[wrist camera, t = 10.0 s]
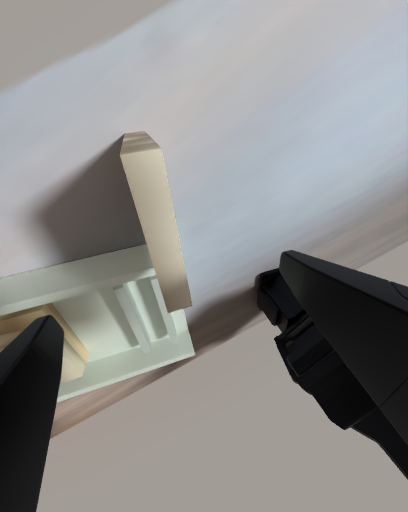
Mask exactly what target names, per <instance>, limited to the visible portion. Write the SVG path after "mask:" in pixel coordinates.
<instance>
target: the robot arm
mask: <svg viewBox="0 0 408 512" xmlns="http://www.w3.org/2000/svg"><path fill="white" fill-rule="evenodd" d="M257 303H258V308H259V309H260V310H263V312H264V313H265V315H266V316H267V318H268V319H269V320H270V322H271V323H272V325H274V326H276V325H277V326H278V327H279V329H280V330H281V332H282V333H281V334H280V335H279V336H276V337H275V338H274V340H275V342H276V344H277V348H278V350H279V352H280V354H281V356H282V359H283V361H284V363H285V365H286V367H287V369H288V372H289V374H290V376H291V377H292V380H293V381H294V382H295V383H297V384H299V385H300V386H301V388H302V389H303V390H305V391H306V392H307V393H309V394H311V395H313V397H314V398H315V399H316V401H317V402H318V404H319V405H320V406H321V408H322V409H323V411H324V412H325V414H326V415H327V416H328V418H329V419H330V420H331V421H332V422H333V423H335V424H336V425H337V426H339V427H340V428H342V429H344V430H346V429H348V428H350V427H351V428H352V429H354V430H356V431H357V432H359V433H361V434H363V435H365V436H366V437H368V438H370V439H371V440H373V441H375V442H376V443H378V444H379V445H380V447H381V448H382V449H383V450H384V451H385V452H386V454H387V455H388V456H389V457H390V458H391V460H392V461H393V462H394V463H395V465H396V466H397V467H398V468H399V470H400V471H401V472H402V473H403V474H404V476H405V477H406V478H407V479H408V287H407V286H404V285H401V284H397V283H395V282H389V281H388V280H385V279H382V278H379V277H376V276H372V275H369V274H366V273H363V272H359V271H357V270H353V269H350V268H347V267H344V266H341V265H338V264H334V263H331V262H328V261H325V260H322V259H319V258H316V257H312V256H309V255H306V254H303V253H300V252H297V251H293V250H289V251H285V252H282V254H281V258H280V265H279V269H276V270H272V271H269V272H265V273H262V274H261V275H260V280H259V289H258V299H257ZM63 348H64V330H63V328H62V327H61V325H60V324H59V323H58V322H57V320H56V319H55V318H54V317H53V316H52V315H45V316H42V317H38V318H36V319H35V320H34V321H33V322H32V323H31V324H30V325H29V326H28V327H27V328H25V329H24V330H23V331H22V332H21V333H20V334H19V335H18V336H17V337H16V338H15V339H14V340H13V341H12V342H11V343H10V344H9V345H7V346H6V347H5V348H4V349H3V350H2V351H1V352H0V512H36V509H37V504H38V499H39V493H40V488H41V483H42V477H43V472H44V466H45V462H46V456H47V451H48V446H49V440H50V435H51V430H52V424H53V419H54V414H55V408H56V403H57V398H58V392H59V387H60V381H61V374H62V362H63Z"/></svg>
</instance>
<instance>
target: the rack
mask: <svg viewBox="0 0 408 512" xmlns="http://www.w3.org/2000/svg"><path fill="white" fill-rule="evenodd" d="M47 303H52V304H53V305H54V307H55V308H56V309H57V311H58V312H59V313H60V315H61V316H62V317H63V319H64V320H65V321H66V323H67V324H68V325H69V326H70V328H71V329H72V330H73V332H74V333H75V334H76V336H77V337H78V338H79V340H80V341H81V342H82V344H83V345H84V346H85V348H86V349H87V350H88V352H89V357H88V363H87V365H85V367H84V373H83V376H82V377H79V378H76V379H73V380H70V381H67V382H64V383H61V384H60V387H59V392H58V398H57V402H59V401H62V400H65V399H68V398H71V397H74V396H77V395H80V394H83V393H86V392H89V391H92V390H95V389H97V388H100V387H103V386H106V385H109V384H112V383H115V382H118V381H121V380H124V379H127V378H130V377H133V376H136V375H139V374H141V373H144V372H147V371H150V370H153V369H156V368H159V367H162V366H165V365H168V364H171V363H174V362H177V361H180V360H183V359H185V358H188V357H191V356H194V355H195V352H194V348H193V345H192V341H191V338H190V334H189V330H188V326H187V322H186V318H185V313H184V309H180V310H177V311H174V312H170V313H168V312H167V309H166V305H165V302H164V299H163V296H162V292H161V289H160V286H159V282H158V279H157V276H156V273H155V269H154V266H153V263H152V259H151V256H150V253H149V250H148V246H147V244H144V245H140V246H135V247H131V248H127V249H122V250H118V251H114V252H110V253H105V254H101V255H97V256H92V257H88V258H84V259H80V260H75V261H71V262H67V263H63V264H58V265H54V266H50V267H45V268H41V269H37V270H33V271H28V272H24V273H20V274H16V275H11V276H7V277H3V278H0V316H1V315H5V314H9V313H13V312H17V311H20V310H24V309H28V308H32V307H36V306H40V305H43V304H47Z"/></svg>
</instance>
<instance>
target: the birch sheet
mask: <svg viewBox="0 0 408 512" xmlns="http://www.w3.org/2000/svg"><path fill="white" fill-rule="evenodd" d="M120 157H121V161H122V164H123V167H124V171H125V174H126V177H127V180H128V184H129V187H130V190H131V194H132V197H133V200H134V203H135V207H136V210H137V213H138V217H139V220H140V223H141V226H142V230H143V233H144V236H145V240H146V243H147V246H148V250H149V253H150V256H151V259H152V263H153V266H154V269H155V273H156V276H157V279H158V282H159V286H160V289H161V292H162V296H163V299H164V302H165V305H166V309H167V312H168V313H170V312H174V311H177V310H180V309H184V308H187V307H191V306H192V301H191V296H190V291H189V286H188V281H187V276H186V271H185V265H184V260H183V255H182V250H181V245H180V240H179V235H178V230H177V224H176V219H175V214H174V209H173V204H172V199H171V194H170V189H169V184H168V178H167V173H166V168H165V163H164V158H163V153H162V148H161V147H160V146H159V145H158V144H157V143H156V142H155V141H154V140H153V139H152V138H151V137H150V136H149V135H148V134H147V133H146V132H145V131H140V132H133V133H126V134H124V139H123V143H122V147H121V152H120Z"/></svg>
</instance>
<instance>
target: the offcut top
mask: <svg viewBox="0 0 408 512" xmlns="http://www.w3.org/2000/svg"><path fill="white" fill-rule="evenodd" d="M23 330H24V329H22V330H18V331H15V332H11V333H8V334H4V335H0V352H1V351H2V350H3V349H4V348H5V347H6V346H7V345H9V344H10V343H11V342H12V341H13V340H14V339H15V338H16V337H17V336H18V335H19V334H20V333H21V332H22V331H23ZM84 367H85V362H84V360H83V359H82V358H81V357H80V356H79V354H78V353H77V352H76V351H75V349H74V348H73V347H72V346H71V345H70V343H69V342H68V341H67V340H66V338H65V337H64V348H63V362H62V374H61V381H60V384H61V383H64V382H67V381H70V380H73V379H76V378H79V377H82V376H83V373H84Z"/></svg>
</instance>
